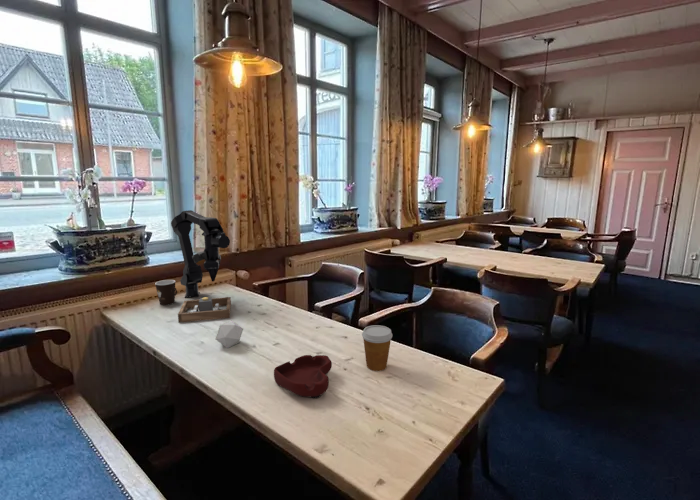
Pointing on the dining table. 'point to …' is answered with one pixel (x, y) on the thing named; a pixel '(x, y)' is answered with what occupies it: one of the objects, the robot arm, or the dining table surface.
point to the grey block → (205, 304)
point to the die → (229, 334)
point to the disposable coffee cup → (376, 346)
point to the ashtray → (305, 375)
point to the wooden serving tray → (204, 314)
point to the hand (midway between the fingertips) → (213, 278)
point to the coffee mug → (166, 291)
